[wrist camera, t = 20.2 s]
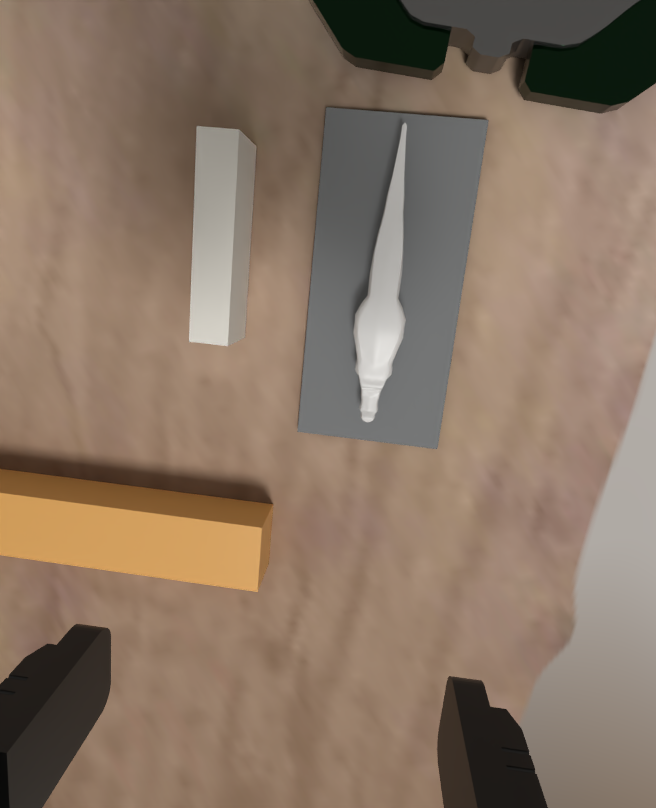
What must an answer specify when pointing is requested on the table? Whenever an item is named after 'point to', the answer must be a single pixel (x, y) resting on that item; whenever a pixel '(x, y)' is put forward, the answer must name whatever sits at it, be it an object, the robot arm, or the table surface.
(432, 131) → the mat
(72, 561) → the bar
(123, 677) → the table surface
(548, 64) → the flat green button pad
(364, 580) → the table surface
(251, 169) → the rails
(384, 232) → the white tapered spike
